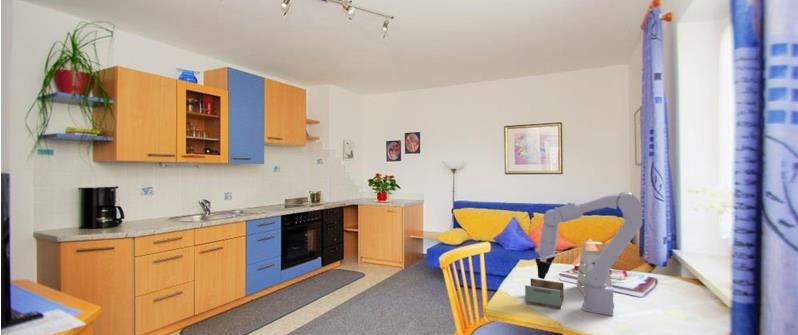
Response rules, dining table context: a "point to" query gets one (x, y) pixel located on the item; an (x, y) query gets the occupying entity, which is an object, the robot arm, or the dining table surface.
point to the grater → (587, 259)
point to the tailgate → (542, 295)
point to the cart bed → (550, 286)
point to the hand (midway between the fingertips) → (542, 275)
